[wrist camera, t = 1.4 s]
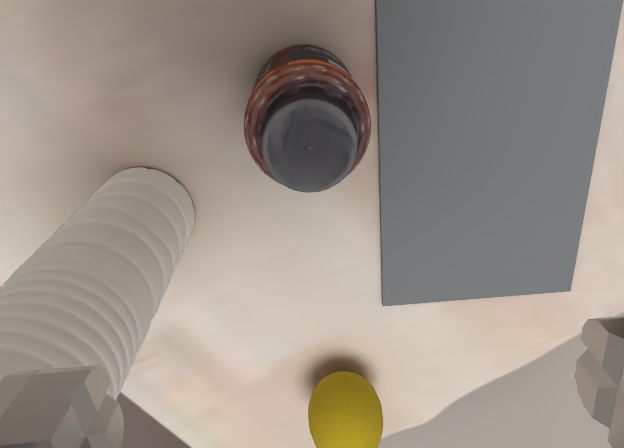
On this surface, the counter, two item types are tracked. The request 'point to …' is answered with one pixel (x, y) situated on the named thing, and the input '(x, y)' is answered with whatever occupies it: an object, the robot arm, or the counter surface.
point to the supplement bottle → (306, 119)
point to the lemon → (345, 412)
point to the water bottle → (97, 279)
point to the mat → (487, 142)
